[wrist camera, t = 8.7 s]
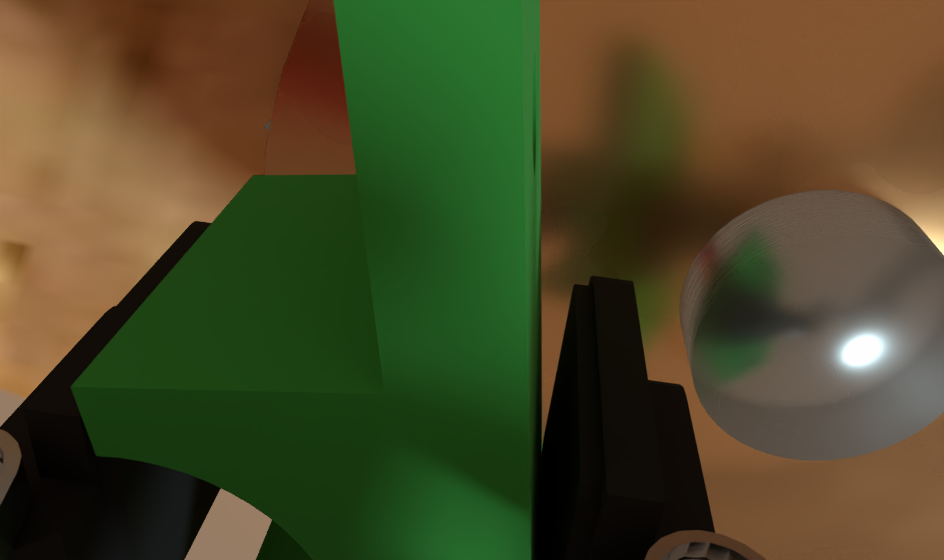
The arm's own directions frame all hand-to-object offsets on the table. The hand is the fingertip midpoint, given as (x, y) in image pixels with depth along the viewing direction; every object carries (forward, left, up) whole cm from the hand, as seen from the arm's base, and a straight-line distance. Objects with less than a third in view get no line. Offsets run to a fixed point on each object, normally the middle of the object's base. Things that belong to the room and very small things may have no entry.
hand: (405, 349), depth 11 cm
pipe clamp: (0, 0, -1) cm, 1 cm away
